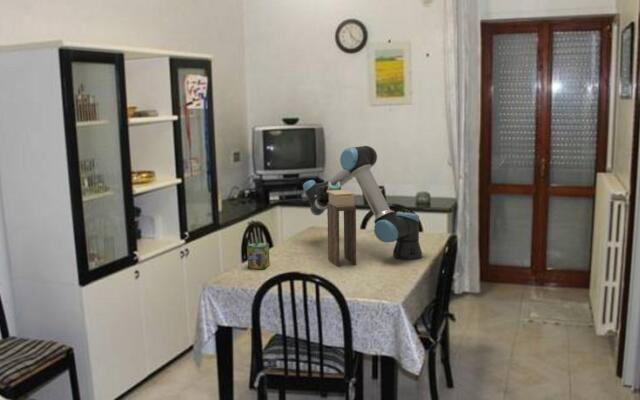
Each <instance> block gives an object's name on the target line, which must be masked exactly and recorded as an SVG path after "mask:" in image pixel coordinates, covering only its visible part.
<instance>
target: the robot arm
mask: <svg viewBox="0 0 640 400" xmlns="http://www.w3.org/2000/svg"><path fill="white" fill-rule="evenodd" d="M377 154H378V153H377V152H376V150H375V149H374V148H373V147H372V146H369V145H361V146H351V147H346V148H345V149H343V151H342V152H341V153H340V157H339V162H340V166H341V168H342V169H341V170H339V171H337V173H335V174H334V175H333V176H332V177H330V178H328V180H326V181H325V182H319V183H316V181H315V180H314V179H310V180H306V182H304V183H303V184H302V188H303V191H304V193H305V195H306V198H307V200H308V202H309V204H310V213H311V214H312V215H314V216H321V215H322V214H323V213H324V212H325V211H326V209H327V203H329V193H327V192H326V191H329V190H330V188H331V185H334V186H337V187H339V188H340V190H342V187H343V186H344V185H346V184H347V183H349V181H351V180H352V179H354V178H355V180H356V182H357V183H358V185H359V187H360V189H361V191H362V194H363V195H364V198H365V199H366V202H367V204H368V206H369V207H370V209H371V212H372V214H373V215H374V221H373V222H374V227H373V228H374V230H373V232H374V235H375V236H376V238H377V239H378V241H380V242H382V243H394V242H395V244H394V248H393V251H392V257H393V258H395V259H398V260H405V261H406V260H407V261H410V260H419V259H421V258H423V251H422V248H421V245H420V241H419V240H420V218H419V215H418V214H417V213H413V212H403V211H402V212H397V213H396V212H395V211H394V210H392V209H390V206H389V204H388V202H387V200H386V198H385V196H384V194H383V193H382V191H381V189H380V186H379V185H378V182H377V181H376V179H375V177H374V175H373V172H372V170H371V168H372V167H374V166H375V164H376V163H377V161H378V160H377V159H378V155H377ZM326 185H327V186H326Z"/></svg>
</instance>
